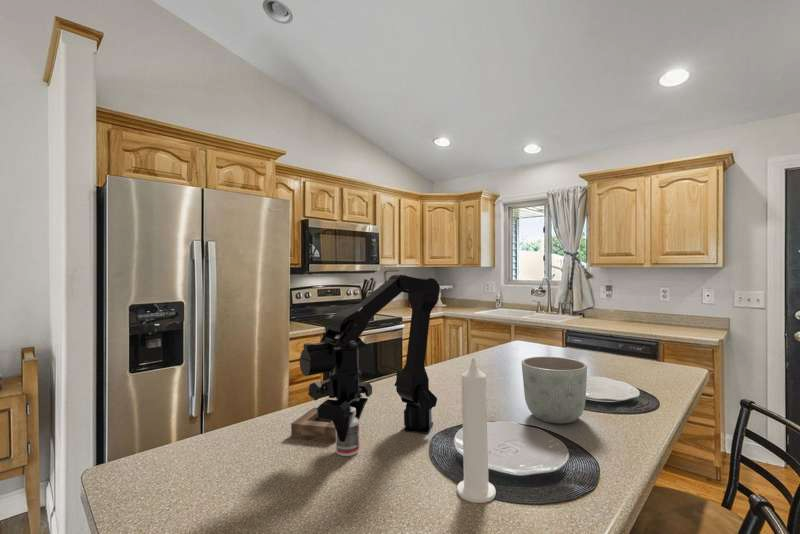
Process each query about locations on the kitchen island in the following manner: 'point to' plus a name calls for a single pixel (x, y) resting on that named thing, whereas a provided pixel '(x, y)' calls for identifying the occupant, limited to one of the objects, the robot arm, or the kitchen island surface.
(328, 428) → the socket block
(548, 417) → the planter
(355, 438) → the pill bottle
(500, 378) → the kitchen island surface
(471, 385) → the candle
